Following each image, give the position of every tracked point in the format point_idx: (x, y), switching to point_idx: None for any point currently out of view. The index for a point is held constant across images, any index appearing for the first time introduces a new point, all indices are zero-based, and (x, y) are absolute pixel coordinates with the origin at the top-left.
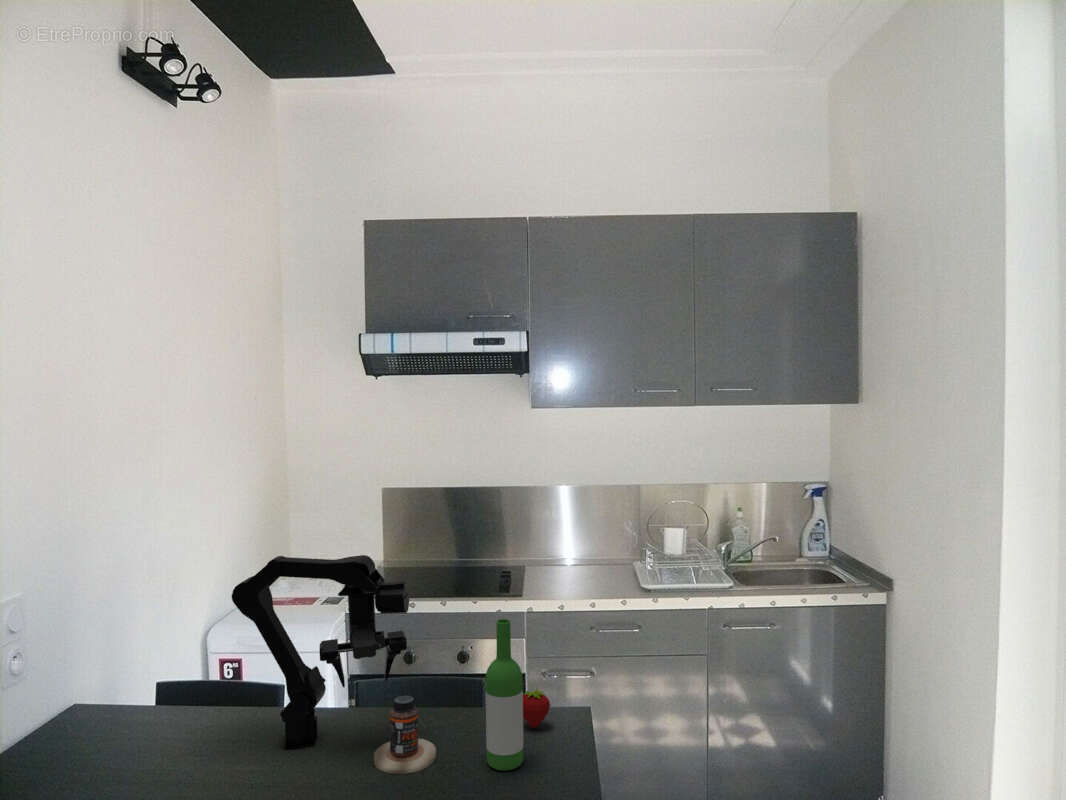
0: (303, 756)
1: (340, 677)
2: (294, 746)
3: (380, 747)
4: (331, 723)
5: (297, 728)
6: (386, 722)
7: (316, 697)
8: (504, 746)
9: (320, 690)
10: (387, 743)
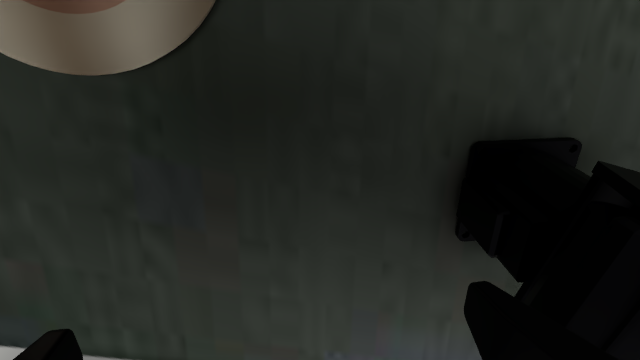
0: (523, 68)
1: (583, 349)
2: (548, 140)
3: (201, 5)
4: (395, 290)
5: (580, 177)
6: (199, 266)
7: (630, 242)
8: None
9: (584, 323)
10: (167, 39)
